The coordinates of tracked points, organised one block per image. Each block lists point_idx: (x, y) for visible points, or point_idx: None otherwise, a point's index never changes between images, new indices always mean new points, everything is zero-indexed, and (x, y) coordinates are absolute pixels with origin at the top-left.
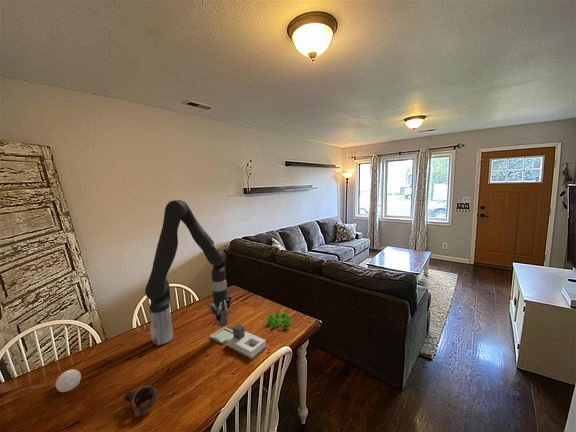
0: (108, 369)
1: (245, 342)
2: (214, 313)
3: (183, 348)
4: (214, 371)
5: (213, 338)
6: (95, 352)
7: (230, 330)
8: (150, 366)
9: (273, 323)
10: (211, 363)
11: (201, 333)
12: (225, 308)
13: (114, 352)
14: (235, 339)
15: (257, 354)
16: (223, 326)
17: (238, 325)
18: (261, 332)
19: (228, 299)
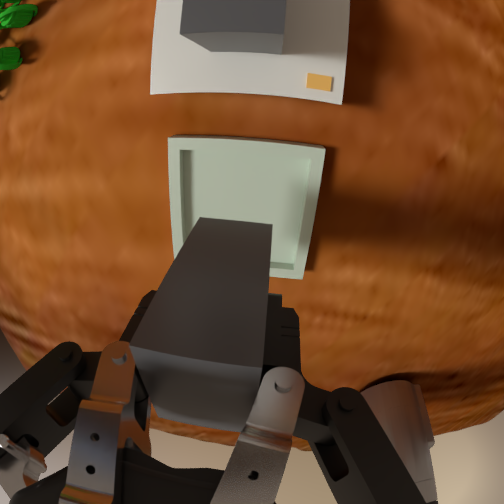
0: (488, 379)
1: None
2: (375, 421)
3: (414, 315)
4: (497, 53)
5: (309, 241)
6: (432, 430)
7: (179, 196)
8: (497, 322)
9: (12, 8)
10: (475, 98)
11: None
12: (120, 379)
13: (434, 416)
14: (301, 16)
15: None
16: (251, 223)
17: (196, 10)
18: (81, 20)
19: (11, 452)
